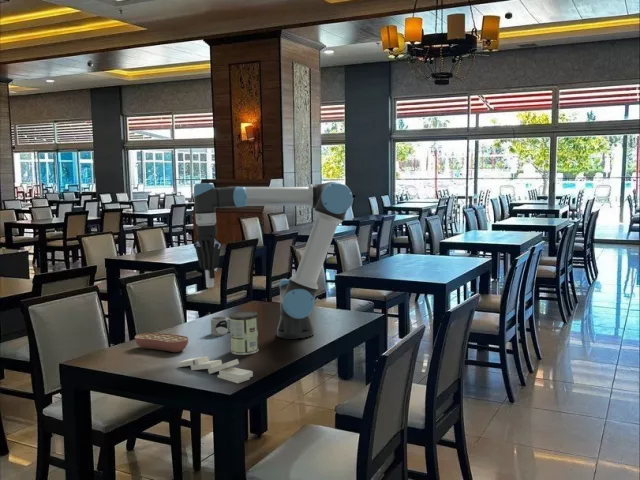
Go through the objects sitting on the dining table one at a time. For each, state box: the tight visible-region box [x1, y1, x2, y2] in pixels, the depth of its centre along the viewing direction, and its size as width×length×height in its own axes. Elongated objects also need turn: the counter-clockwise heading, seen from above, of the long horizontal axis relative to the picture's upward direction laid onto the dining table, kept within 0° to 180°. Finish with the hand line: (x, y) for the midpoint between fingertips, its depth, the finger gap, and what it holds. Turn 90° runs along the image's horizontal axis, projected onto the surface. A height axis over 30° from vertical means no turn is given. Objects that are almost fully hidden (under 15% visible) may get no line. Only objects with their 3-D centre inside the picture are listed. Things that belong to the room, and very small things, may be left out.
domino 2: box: [190, 359, 223, 371], centre depth 211 cm, size 2×5×10 cm
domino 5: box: [217, 374, 251, 384], centre depth 203 cm, size 2×5×10 cm
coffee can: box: [229, 310, 259, 356], centre depth 234 cm, size 10×10×14 cm
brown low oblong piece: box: [134, 332, 189, 353], centre depth 239 cm, size 23×10×5 cm, turn 64°
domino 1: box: [177, 355, 210, 368], centre depth 215 cm, size 2×5×10 cm
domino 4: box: [218, 366, 254, 380], centre depth 203 cm, size 2×5×10 cm
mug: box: [210, 316, 230, 337], centre depth 263 cm, size 10×7×7 cm
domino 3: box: [207, 358, 240, 375], centre depth 207 cm, size 2×5×10 cm
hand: (210, 286), depth 238 cm, fingers closed
